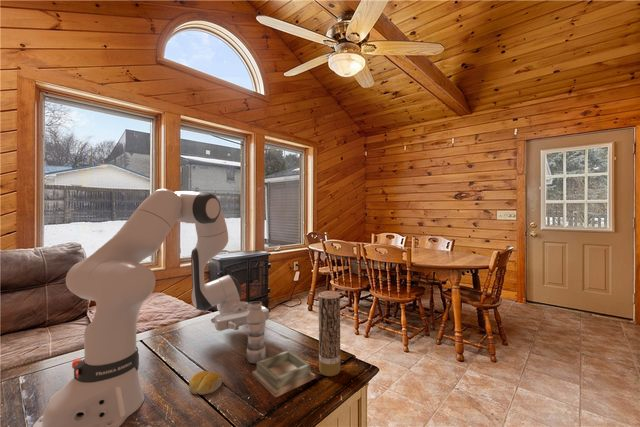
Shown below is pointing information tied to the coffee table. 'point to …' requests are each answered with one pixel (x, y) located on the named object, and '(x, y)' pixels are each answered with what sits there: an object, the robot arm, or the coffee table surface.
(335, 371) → the paper tube
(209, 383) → the bread roll
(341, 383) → the coffee table surface
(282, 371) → the bottle stand
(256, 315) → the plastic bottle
